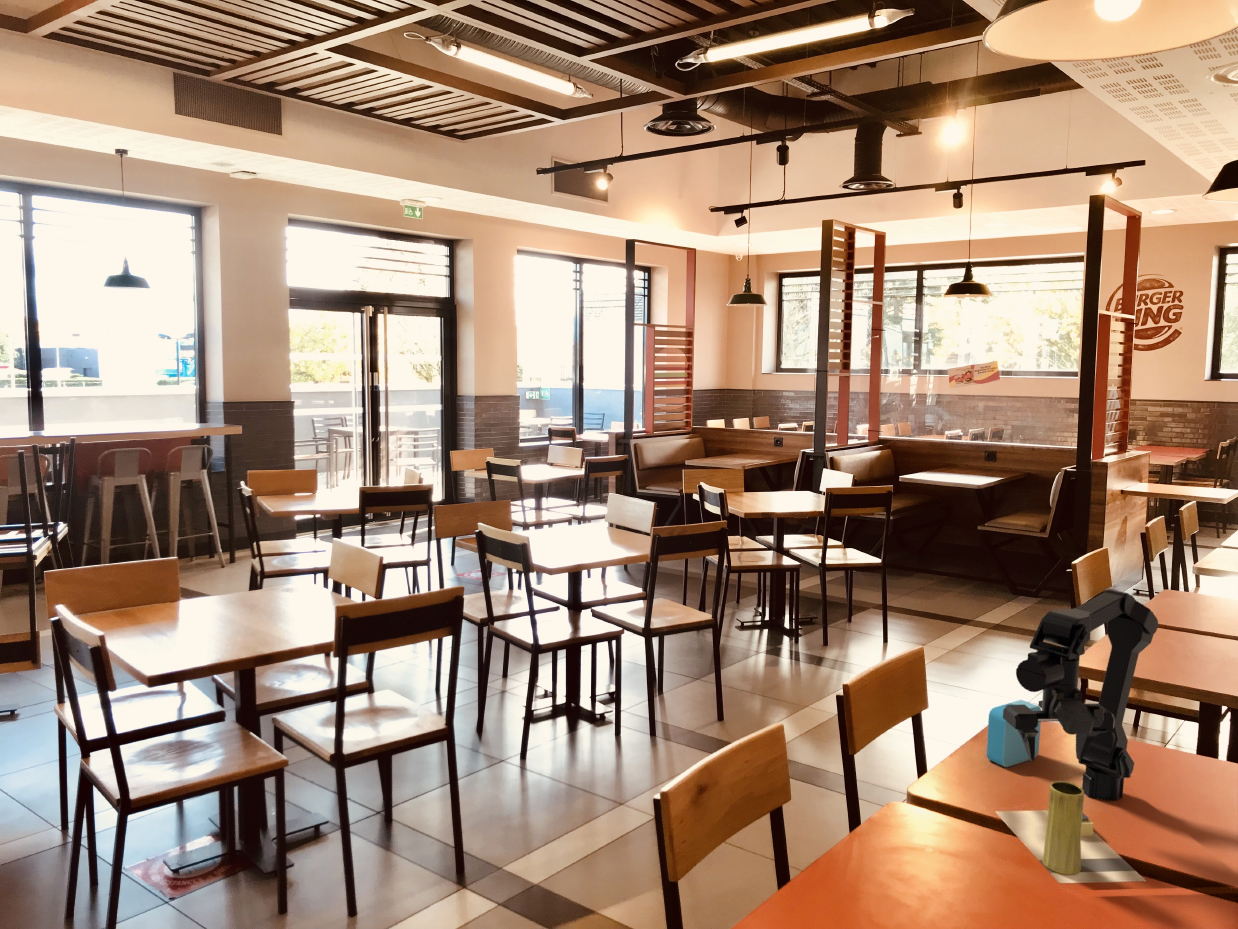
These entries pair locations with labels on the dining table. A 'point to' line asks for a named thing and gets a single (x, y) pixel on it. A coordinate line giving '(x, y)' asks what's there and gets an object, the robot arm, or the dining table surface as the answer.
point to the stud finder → (1086, 826)
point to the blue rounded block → (1007, 737)
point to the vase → (1064, 828)
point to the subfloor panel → (1095, 853)
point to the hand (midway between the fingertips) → (1055, 760)
